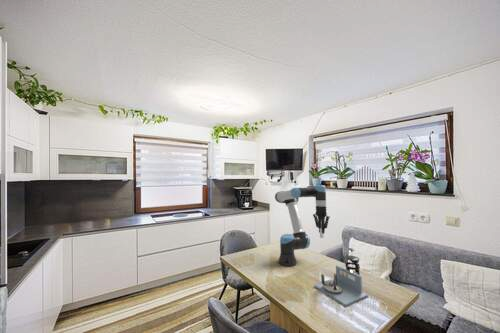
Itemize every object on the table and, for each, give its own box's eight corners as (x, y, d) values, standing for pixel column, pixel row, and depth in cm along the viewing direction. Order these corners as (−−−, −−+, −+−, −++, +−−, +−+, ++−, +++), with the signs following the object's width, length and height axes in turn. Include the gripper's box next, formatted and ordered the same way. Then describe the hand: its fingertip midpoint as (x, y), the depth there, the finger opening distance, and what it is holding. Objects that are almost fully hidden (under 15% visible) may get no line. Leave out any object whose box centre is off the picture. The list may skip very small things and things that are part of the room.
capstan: (327, 294, 122) (327, 281, 123) (319, 283, 134) (319, 272, 135) (346, 293, 123) (346, 280, 124) (337, 283, 135) (336, 271, 135)
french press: (354, 288, 132) (353, 252, 133) (342, 281, 140) (340, 248, 141) (365, 283, 137) (363, 249, 139) (352, 277, 145) (351, 245, 147)
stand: (314, 286, 134) (313, 269, 134) (334, 279, 143) (334, 263, 144) (345, 306, 112) (344, 286, 113) (367, 296, 122) (366, 277, 122)
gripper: (310, 205, 153) (311, 236, 151) (326, 207, 143) (327, 240, 142) (315, 204, 158) (316, 234, 156) (331, 206, 148) (332, 238, 147)
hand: (321, 237), depth 149 cm, fingers closed
